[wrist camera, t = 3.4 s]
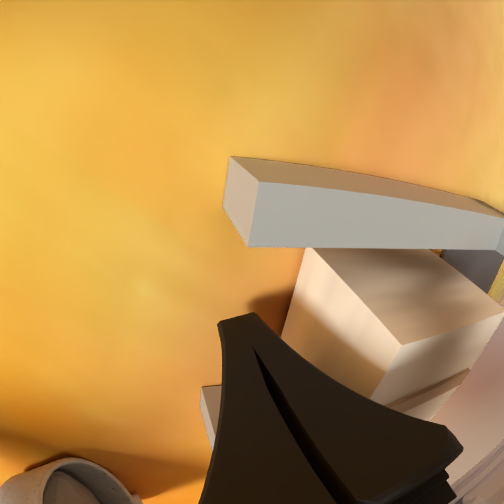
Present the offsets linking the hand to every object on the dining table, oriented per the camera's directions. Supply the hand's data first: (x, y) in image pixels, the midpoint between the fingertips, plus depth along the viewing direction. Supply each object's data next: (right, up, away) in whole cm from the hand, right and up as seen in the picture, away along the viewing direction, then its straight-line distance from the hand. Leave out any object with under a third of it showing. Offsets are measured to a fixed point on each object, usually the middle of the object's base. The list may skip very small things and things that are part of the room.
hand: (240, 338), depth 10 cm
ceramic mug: (-11, -12, +5) cm, 17 cm away
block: (+4, 0, +3) cm, 5 cm away
